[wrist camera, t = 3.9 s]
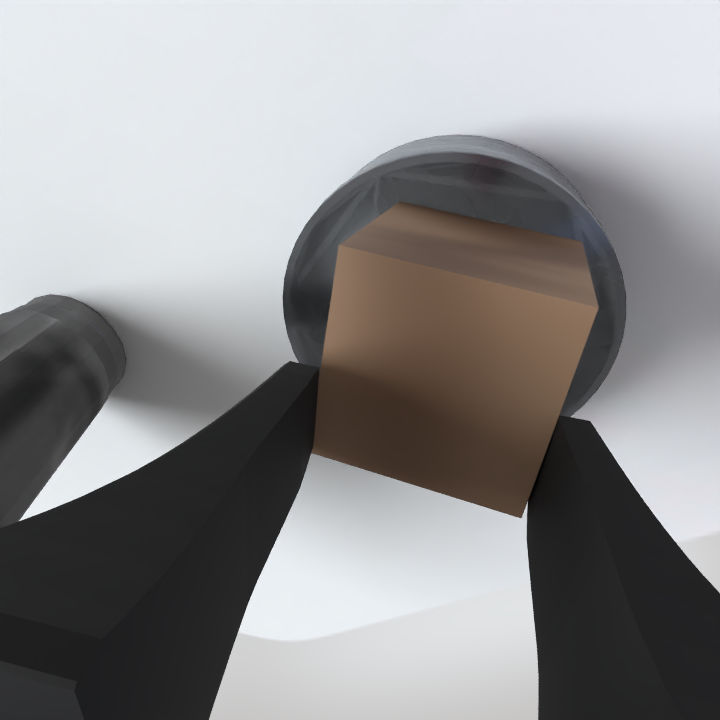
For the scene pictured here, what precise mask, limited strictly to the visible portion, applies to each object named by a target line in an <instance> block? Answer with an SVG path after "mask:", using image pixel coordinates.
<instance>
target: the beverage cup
mask: <svg viewBox="0 0 720 720" xmlns="http://www.w3.org/2000/svg"><path fill="white" fill-rule="evenodd" d="M125 363H126V358H125V354H124V350H123V346H122V343H121V342H120V340H119V338H118V336H117V335H116V333H115V331H114V330H113V328H112V327H111V326H110V325H109V324H108V323H107V322H106V321H105V320H104V319H103V318H102V317H101V316H100V315H99V314H98V313H96V312H95V311H94V310H92V309H91V308H89V307H88V306H86V305H85V304H83V303H81V302H78V301H76V300H73V299H71V298H68V297H65V296H56V295H46V296H41V297H37V298H34V299H33V300H31V301H30V302H29V303H27V304H26V305H23V306H20V307H18V308H16V309H14V310H12V311H10V312H6V313H3V314H1V315H0V528H2V527H5V526H8V525H11V524H14V523H16V522H18V521H19V520H20V519H21V517H22V516H23V515H24V513H25V512H26V510H27V509H28V508H29V506H30V505H31V504H32V502H33V501H34V500H35V498H36V497H37V495H38V494H39V493H40V491H41V490H42V489H43V487H44V486H45V485H46V483H47V482H48V481H49V479H50V478H51V476H52V475H53V474H54V472H55V471H56V470H57V468H58V467H59V466H60V464H61V463H62V462H63V460H64V459H65V457H66V456H67V455H68V453H69V452H70V451H71V449H72V448H73V447H74V445H75V444H76V442H77V441H78V440H79V438H80V437H81V436H82V434H83V433H84V432H85V430H86V429H87V428H88V426H89V425H90V423H91V422H92V421H93V419H94V418H95V417H96V415H97V414H98V413H99V411H100V410H101V408H102V407H103V405H104V403H105V402H106V400H107V399H108V396H109V394H110V393H111V391H112V389H113V388H114V387H115V386H116V385H117V384H118V382H119V381H120V379H121V377H122V376H123V374H124V372H125Z"/></svg>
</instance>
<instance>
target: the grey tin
mask: <svg viewBox="0 0 720 720" xmlns="http://www.w3.org/2000/svg"><path fill="white" fill-rule="evenodd" d="M400 201H402V202H406V203H411V204H415V205H420V206H424V207H429V208H433V209H438V210H442V211H447V212H451V213H456V214H460V215H465V216H469V217H474V218H478V219H483V220H487V221H492V222H496V223H501V224H505V225H510V226H514V227H519V228H523V229H528V230H532V231H537V232H541V233H546V234H550V235H555V236H559V237H564V238H568V239H573V240H577V241H582V242H583V246H584V250H585V255H586V259H587V263H588V267H589V271H590V275H591V279H592V283H593V287H594V291H595V295H596V299H597V303H598V307H599V308H598V311H597V314H596V316H595V319H594V322H593V324H592V327H591V330H590V333H589V335H588V338H587V341H586V344H585V346H584V349H583V352H582V354H581V357H580V360H579V363H578V365H577V368H576V371H575V374H574V376H573V379H572V382H571V384H570V387H569V390H568V393H567V395H566V398H565V401H564V404H563V406H562V409H561V412H560V414H559V415H561V416H566V417H570V416H572V415H573V414H574V413H575V412H576V411H577V410H579V409H580V408H581V407H582V406H583V405H584V404H585V403H586V402H587V401H588V400H589V399H590V398H591V397H592V395H593V394H594V393H595V392H596V391H597V390H598V388H599V387H600V385H601V384H602V382H603V381H604V379H605V378H606V376H607V375H608V373H609V371H610V369H611V367H612V365H613V363H614V361H615V359H616V357H617V354H618V351H619V348H620V345H621V342H622V338H623V334H624V327H625V320H626V293H625V287H624V281H623V276H622V272H621V269H620V266H619V263H618V260H617V257H616V255H615V252H614V249H613V247H612V244H611V243H610V241H609V239H608V237H607V235H606V233H605V231H604V229H603V228H602V226H601V224H600V223H599V222H598V220H597V219H596V218H595V216H594V215H593V214H592V212H591V211H590V210H589V208H588V207H587V206H586V204H585V202H584V200H583V199H582V198H581V196H580V195H579V194H578V192H577V191H576V190H575V188H574V187H573V186H572V185H571V183H569V182H568V181H567V180H566V179H565V178H564V177H563V176H562V175H561V174H560V173H559V172H558V171H557V170H556V169H555V168H553V167H552V166H551V165H549V164H548V163H546V162H545V161H544V160H542V159H541V158H539V157H537V156H536V155H534V154H532V153H530V152H528V151H526V150H524V149H522V148H520V147H517V146H514V145H512V144H509V143H506V142H503V141H500V140H496V139H491V138H486V137H481V136H470V135H446V136H435V137H430V138H425V139H420V140H416V141H413V142H410V143H407V144H404V145H401V146H399V147H396V148H394V149H392V150H390V151H388V152H386V153H384V154H382V155H380V156H378V157H377V158H376V159H374V160H373V161H371V162H370V163H368V164H367V165H366V166H364V167H363V168H362V169H361V170H359V171H358V172H357V173H356V174H355V175H354V176H353V177H352V178H351V179H350V180H348V181H347V182H345V183H344V184H342V185H341V186H340V187H339V188H338V189H337V190H336V191H334V192H333V193H332V194H331V195H330V196H329V197H328V198H327V199H326V200H325V201H324V202H323V203H322V205H321V206H320V207H319V208H318V210H317V211H316V212H315V213H314V215H313V216H312V217H311V218H310V220H309V221H308V222H307V224H306V225H305V227H304V229H303V231H302V232H301V234H300V236H299V237H298V239H297V241H296V243H295V246H294V248H293V251H292V253H291V256H290V258H289V261H288V266H287V270H286V274H285V278H284V289H283V310H284V319H285V324H286V329H287V334H288V337H289V340H290V343H291V346H292V349H293V352H294V354H295V356H296V358H297V360H298V362H299V363H301V364H306V365H311V366H316V367H320V369H321V363H322V356H323V349H324V342H325V335H326V329H327V322H328V315H329V308H330V302H331V295H332V288H333V281H334V275H335V268H336V261H337V254H338V247H339V245H340V244H341V243H342V242H344V241H345V240H347V239H348V238H349V237H351V236H352V235H354V234H355V233H356V232H358V231H359V230H361V229H362V228H363V227H365V226H366V225H368V224H369V223H370V222H372V221H373V220H375V219H376V218H377V217H379V216H380V215H382V214H383V213H384V212H386V211H387V210H389V209H390V208H391V207H393V206H394V205H396V204H397V203H398V202H400ZM320 369H319V376H320ZM318 383H319V382H318Z"/></svg>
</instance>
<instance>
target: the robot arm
mask: <svg viewBox="0 0 720 720" xmlns="http://www.w3.org/2000/svg"><path fill="white" fill-rule="evenodd" d="M319 369H320V367H316V366H311V365H306V364H301V363H296V362H291V361H290V362H288V363H286V364H285V365H283V366H282V367H281V368H280V369H279V370H278V371H276V372H275V373H274V374H273V375H272V376H271V377H269V378H268V379H267V380H266V381H265V382H263V383H262V384H261V385H260V386H259V387H257V388H256V389H255V390H254V391H253V392H251V393H250V394H249V395H248V396H246V397H245V398H244V399H243V400H241V401H240V402H239V403H237V404H236V405H235V406H234V407H232V408H231V409H230V410H228V411H227V412H226V413H224V414H223V415H222V416H221V417H219V418H218V419H216V420H215V421H214V422H212V423H211V424H209V425H208V426H206V427H205V428H204V429H202V430H201V431H199V432H198V433H196V434H195V435H193V436H192V437H190V438H189V439H187V440H186V441H185V442H183V443H181V444H180V445H178V446H177V447H175V448H174V449H172V450H170V451H169V452H167V453H165V454H164V455H162V456H160V457H159V458H157V459H155V460H154V461H152V462H150V463H148V464H147V465H145V466H143V467H141V468H139V469H138V470H136V471H134V472H132V473H130V474H128V475H126V476H124V477H122V478H120V479H118V480H116V481H113V482H111V483H109V484H107V485H105V486H103V487H101V488H99V489H97V490H95V491H92V492H90V493H88V494H86V495H84V496H82V497H80V498H77V499H75V500H73V501H70V502H68V503H65V504H63V505H60V506H58V507H56V508H53V509H51V510H48V511H46V512H43V513H40V514H38V515H35V516H32V517H30V518H27V519H25V520H22V521H19V522H16V523H14V524H11V525H8V526H5V527H2V528H0V720H209V717H210V714H211V711H212V708H213V704H214V702H215V699H216V696H217V693H218V690H219V687H220V684H221V681H222V678H223V675H224V672H225V669H226V665H227V663H228V660H229V656H230V654H231V651H232V648H233V645H234V642H235V639H236V636H237V633H238V631H239V628H240V625H241V622H242V619H243V616H244V613H245V610H246V607H247V605H248V602H249V600H250V597H251V595H252V592H253V590H254V587H255V585H256V583H257V580H258V578H259V576H260V574H261V572H262V570H263V567H264V565H265V563H266V561H267V559H268V557H269V554H270V552H271V550H272V548H273V546H274V544H275V541H276V539H277V537H278V535H279V533H280V531H281V528H282V526H283V524H284V522H285V520H286V518H287V515H288V513H289V511H290V509H291V507H292V504H293V502H294V500H295V498H296V496H297V493H298V491H299V489H300V486H301V483H302V480H303V477H304V474H305V471H306V468H307V465H308V461H309V458H310V455H311V452H312V449H313V442H314V434H315V422H316V409H317V395H318V382H319ZM527 548H528V559H529V570H530V581H531V591H532V600H533V611H534V622H535V631H536V642H537V652H538V653H537V654H538V673H539V708H538V710H539V712H538V713H539V714H538V720H720V593H719V592H718V591H717V590H716V589H715V588H714V587H713V585H712V584H711V583H710V582H709V581H708V580H707V579H706V578H705V577H704V576H703V575H702V573H701V572H700V571H699V570H698V569H697V568H696V567H695V565H694V564H693V563H692V562H691V561H690V560H689V558H688V557H687V556H686V555H685V554H684V552H683V551H682V550H681V549H680V547H679V546H678V545H677V544H676V542H675V541H674V540H673V539H672V537H671V536H670V535H669V534H668V532H667V531H666V530H665V529H664V527H663V526H662V525H661V523H660V522H659V521H658V519H657V518H656V517H655V515H654V514H653V513H652V511H651V510H650V509H649V507H648V506H647V505H646V503H645V502H644V500H643V499H642V498H641V496H640V495H639V493H638V492H637V491H636V489H635V488H634V486H633V485H632V483H631V482H630V481H629V479H628V478H627V476H626V475H625V473H624V472H623V470H622V469H621V467H620V466H619V464H618V463H617V461H616V460H615V458H614V457H613V455H612V454H611V452H610V451H609V449H608V448H607V446H606V444H605V443H604V441H603V440H602V438H601V437H600V435H599V434H598V432H597V431H596V429H595V428H594V426H593V425H592V423H591V422H590V421H586V420H581V419H576V418H571V417H566V416H561V415H559V417H558V420H557V423H556V425H555V428H554V431H553V433H552V436H551V439H550V442H549V444H548V447H547V450H546V453H545V455H544V458H543V461H542V463H541V466H540V469H539V472H538V474H537V477H536V480H535V483H534V485H533V488H532V491H531V493H530V496H529V499H528V511H527Z"/></svg>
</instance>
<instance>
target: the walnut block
mask: <svg viewBox="0 0 720 720" xmlns="http://www.w3.org/2000/svg"><path fill="white" fill-rule="evenodd" d="M598 308H599V307H598V303H597V299H596V295H595V291H594V287H593V283H592V279H591V275H590V271H589V267H588V263H587V259H586V255H585V250H584V246H583V242H582V241H577V240H573V239H568V238H564V237H559V236H555V235H550V234H546V233H541V232H537V231H532V230H528V229H523V228H519V227H514V226H510V225H505V224H501V223H496V222H492V221H487V220H483V219H478V218H474V217H469V216H465V215H460V214H456V213H451V212H447V211H442V210H438V209H433V208H429V207H424V206H420V205H415V204H411V203H406V202H402V201H400V202H398V203H397V204H396V205H394V206H393V207H391V208H390V209H389V210H387V211H386V212H384V213H383V214H382V215H380V216H379V217H377V218H376V219H375V220H373V221H372V222H370V223H369V224H368V225H366V226H365V227H363V228H362V229H361V230H359V231H358V232H356V233H355V234H354V235H352V236H351V237H349V238H348V239H347V240H345V241H344V242H342V243H341V244H340V245H339V247H338V254H337V261H336V268H335V275H334V281H333V288H332V295H331V302H330V308H329V315H328V322H327V329H326V335H325V342H324V349H323V356H322V363H321V369H320V376H319V383H318V395H317V409H316V422H315V434H314V442H313V449H312V452H311V453H313V454H317V455H320V456H323V457H326V458H330V459H333V460H336V461H339V462H342V463H346V464H349V465H352V466H355V467H358V468H362V469H365V470H368V471H371V472H374V473H378V474H381V475H384V476H387V477H390V478H394V479H397V480H400V481H403V482H406V483H410V484H413V485H416V486H419V487H422V488H426V489H429V490H432V491H435V492H439V493H442V494H445V495H448V496H451V497H455V498H458V499H461V500H464V501H467V502H471V503H474V504H477V505H480V506H483V507H487V508H490V509H493V510H496V511H499V512H503V513H506V514H509V515H512V516H515V517H519V518H522V515H523V513H524V510H525V507H526V504H527V502H528V499H529V496H530V493H531V491H532V488H533V485H534V483H535V480H536V477H537V474H538V472H539V469H540V466H541V463H542V461H543V458H544V455H545V453H546V450H547V447H548V444H549V442H550V439H551V436H552V433H553V431H554V428H555V425H556V423H557V420H558V417H559V414H560V412H561V409H562V406H563V404H564V401H565V398H566V395H567V393H568V390H569V387H570V384H571V382H572V379H573V376H574V374H575V371H576V368H577V365H578V363H579V360H580V357H581V354H582V352H583V349H584V346H585V344H586V341H587V338H588V335H589V333H590V330H591V327H592V324H593V322H594V319H595V316H596V314H597V311H598Z"/></svg>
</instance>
